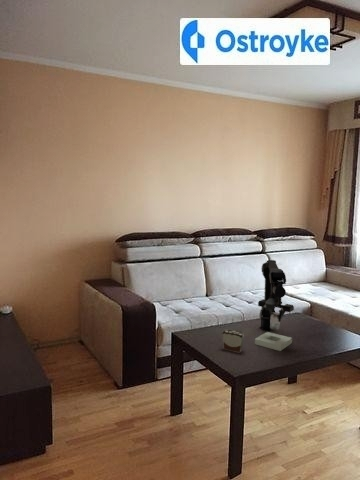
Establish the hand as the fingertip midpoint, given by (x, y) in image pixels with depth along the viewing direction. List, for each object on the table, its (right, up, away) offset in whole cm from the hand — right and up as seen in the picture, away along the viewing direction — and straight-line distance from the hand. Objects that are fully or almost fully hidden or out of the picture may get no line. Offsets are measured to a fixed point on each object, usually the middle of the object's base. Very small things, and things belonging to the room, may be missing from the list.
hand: (275, 320), depth 217 cm
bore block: (-1, -13, +1) cm, 13 cm away
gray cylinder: (0, -4, 0) cm, 4 cm away
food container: (-23, -14, -8) cm, 28 cm away
